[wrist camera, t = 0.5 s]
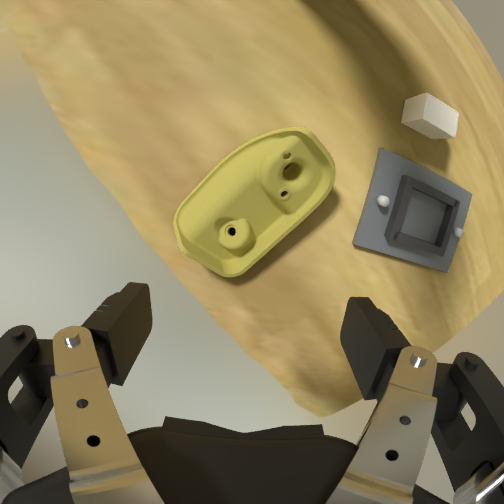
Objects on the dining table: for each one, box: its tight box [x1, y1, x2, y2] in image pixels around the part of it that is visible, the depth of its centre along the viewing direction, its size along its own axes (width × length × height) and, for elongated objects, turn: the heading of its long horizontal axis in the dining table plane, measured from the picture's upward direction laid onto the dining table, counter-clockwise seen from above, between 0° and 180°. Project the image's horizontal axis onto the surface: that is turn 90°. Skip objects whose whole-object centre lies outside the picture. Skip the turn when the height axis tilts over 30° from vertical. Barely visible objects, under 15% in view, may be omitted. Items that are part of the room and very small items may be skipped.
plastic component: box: [173, 127, 336, 277], centre depth 34 cm, size 20×7×10 cm
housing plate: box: [352, 148, 472, 273], centre depth 35 cm, size 14×19×3 cm
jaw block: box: [401, 92, 459, 139], centre depth 29 cm, size 4×6×6 cm, turn 76°
